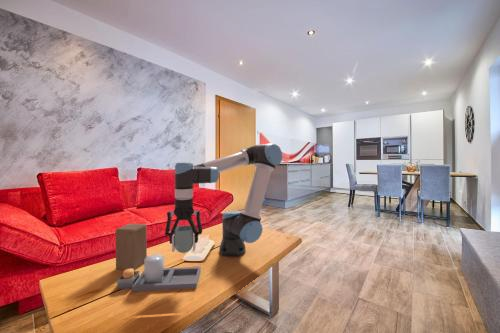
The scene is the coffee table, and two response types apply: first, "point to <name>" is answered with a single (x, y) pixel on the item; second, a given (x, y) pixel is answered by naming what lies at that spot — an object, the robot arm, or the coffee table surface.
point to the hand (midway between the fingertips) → (184, 250)
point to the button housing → (127, 281)
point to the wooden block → (131, 246)
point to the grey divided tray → (171, 280)
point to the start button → (128, 273)
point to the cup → (183, 238)
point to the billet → (154, 269)
